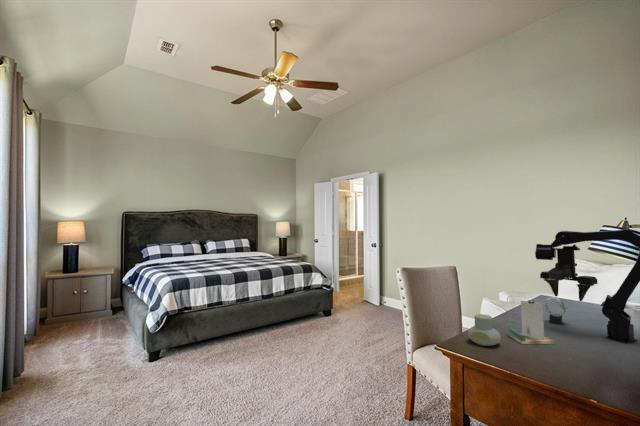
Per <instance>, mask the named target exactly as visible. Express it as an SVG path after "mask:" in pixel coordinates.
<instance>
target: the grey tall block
mask: <svg viewBox="0 0 640 426" xmlns="http://www.w3.org/2000/svg"><path fill="white" fill-rule="evenodd" d="M543 308H544V307H543V303H541V302H538V301H535V300H520V315H521V333H522V334H523V335H525V336H526V337H527V338H529V339H544V336H545V330H544V329H545V327H544V326H545V325H544V311H543V310H544V309H543Z"/></svg>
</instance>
